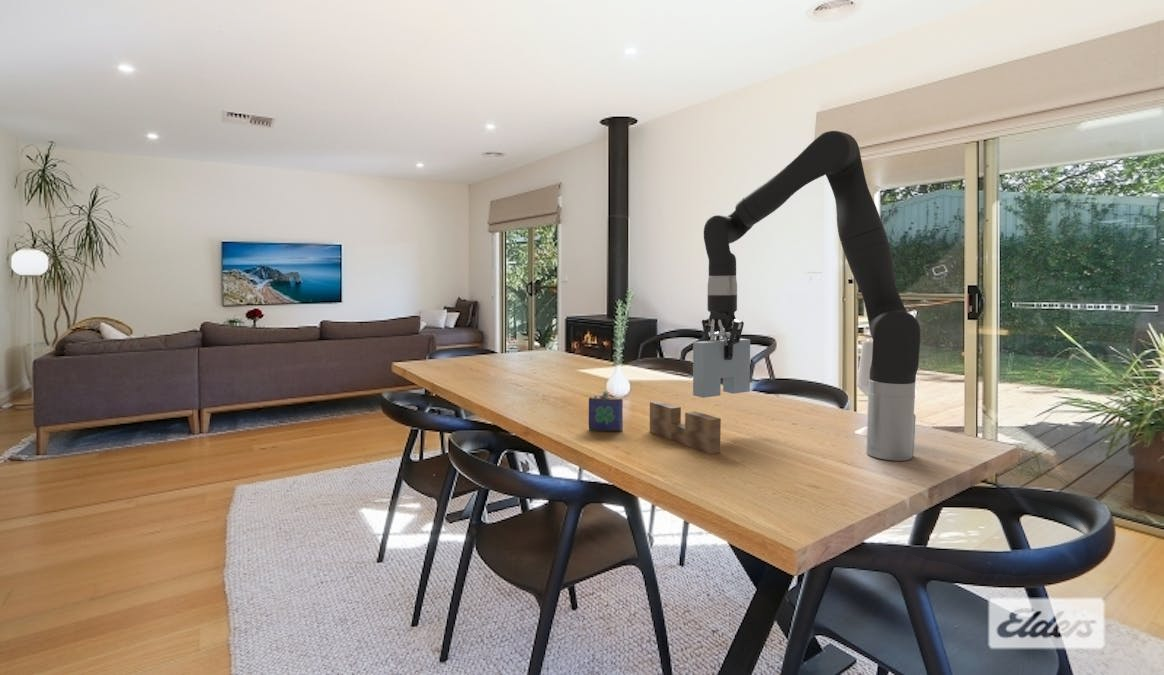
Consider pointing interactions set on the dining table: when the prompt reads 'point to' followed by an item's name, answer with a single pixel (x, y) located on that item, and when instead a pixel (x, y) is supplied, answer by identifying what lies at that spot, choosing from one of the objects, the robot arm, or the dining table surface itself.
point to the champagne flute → (864, 376)
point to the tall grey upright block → (720, 368)
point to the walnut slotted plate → (686, 427)
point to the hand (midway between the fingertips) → (721, 358)
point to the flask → (605, 413)
